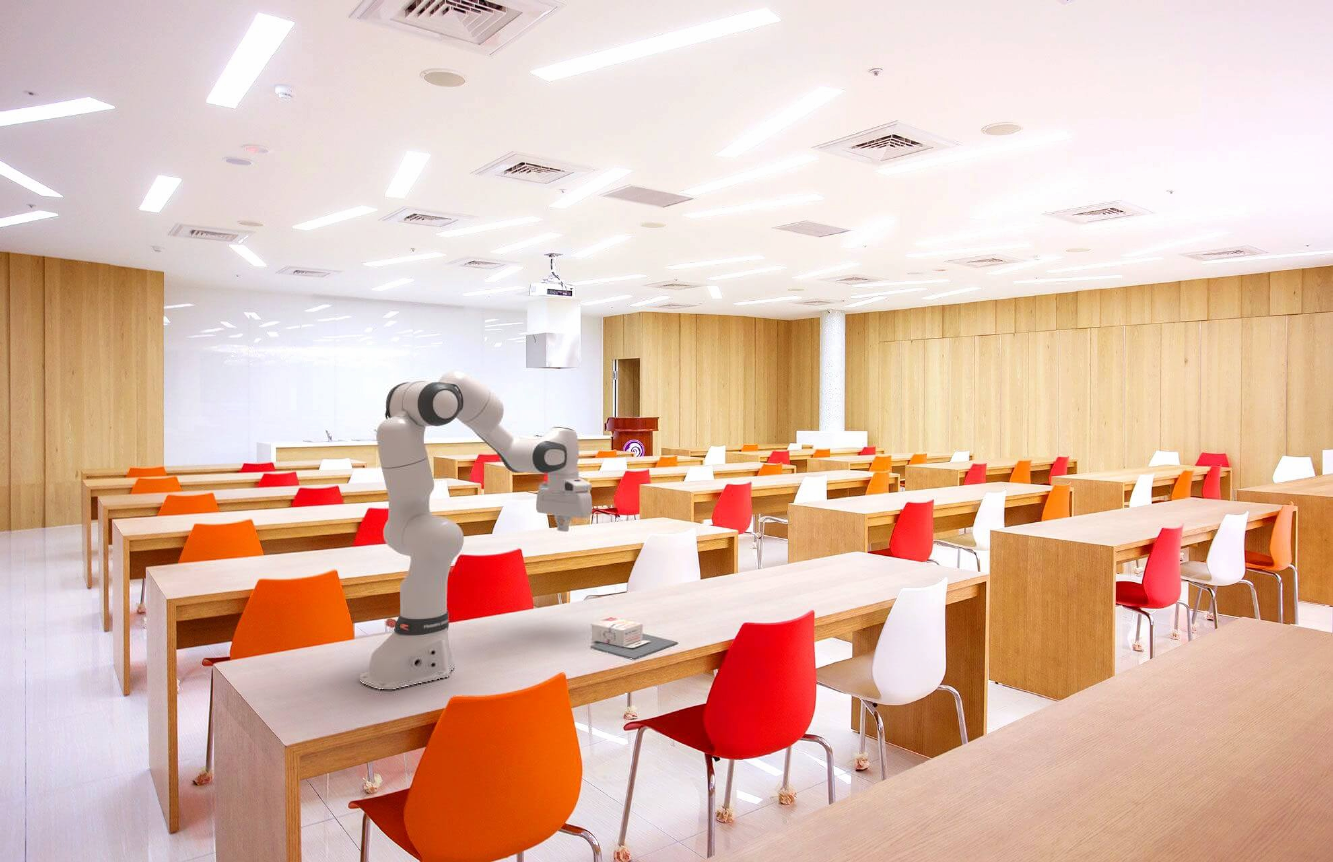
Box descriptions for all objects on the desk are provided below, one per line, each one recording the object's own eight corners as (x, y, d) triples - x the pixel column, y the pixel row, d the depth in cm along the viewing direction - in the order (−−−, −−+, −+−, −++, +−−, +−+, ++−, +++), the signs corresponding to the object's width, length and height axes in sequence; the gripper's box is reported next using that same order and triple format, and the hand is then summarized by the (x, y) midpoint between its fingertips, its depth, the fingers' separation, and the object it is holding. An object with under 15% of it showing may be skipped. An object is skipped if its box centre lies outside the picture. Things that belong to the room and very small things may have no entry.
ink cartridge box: (610, 616, 232) (651, 624, 223) (610, 633, 232) (651, 642, 223) (590, 622, 225) (632, 631, 216) (590, 640, 225) (632, 650, 216)
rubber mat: (634, 659, 210) (634, 658, 210) (590, 648, 220) (590, 646, 220) (677, 643, 224) (677, 642, 224) (634, 633, 234) (634, 631, 234)
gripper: (531, 481, 239) (530, 528, 239) (579, 486, 226) (579, 536, 226) (547, 480, 244) (547, 526, 244) (595, 484, 230) (595, 533, 231)
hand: (563, 531), depth 235 cm, fingers closed
